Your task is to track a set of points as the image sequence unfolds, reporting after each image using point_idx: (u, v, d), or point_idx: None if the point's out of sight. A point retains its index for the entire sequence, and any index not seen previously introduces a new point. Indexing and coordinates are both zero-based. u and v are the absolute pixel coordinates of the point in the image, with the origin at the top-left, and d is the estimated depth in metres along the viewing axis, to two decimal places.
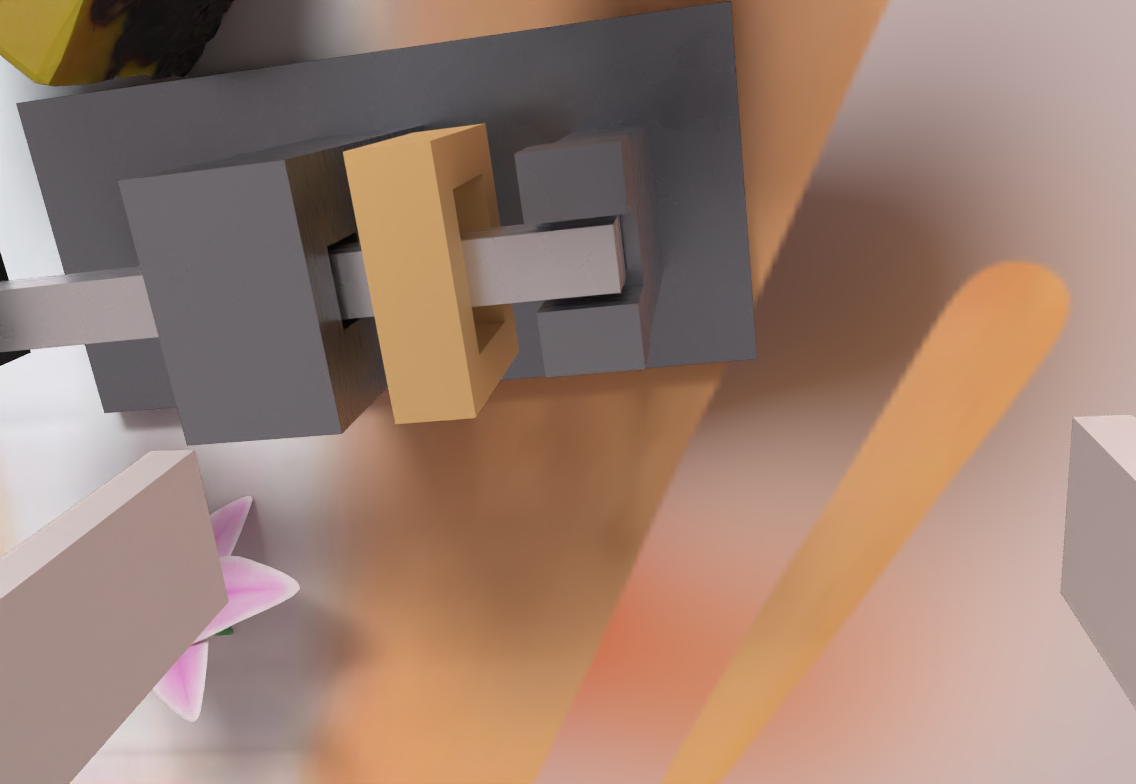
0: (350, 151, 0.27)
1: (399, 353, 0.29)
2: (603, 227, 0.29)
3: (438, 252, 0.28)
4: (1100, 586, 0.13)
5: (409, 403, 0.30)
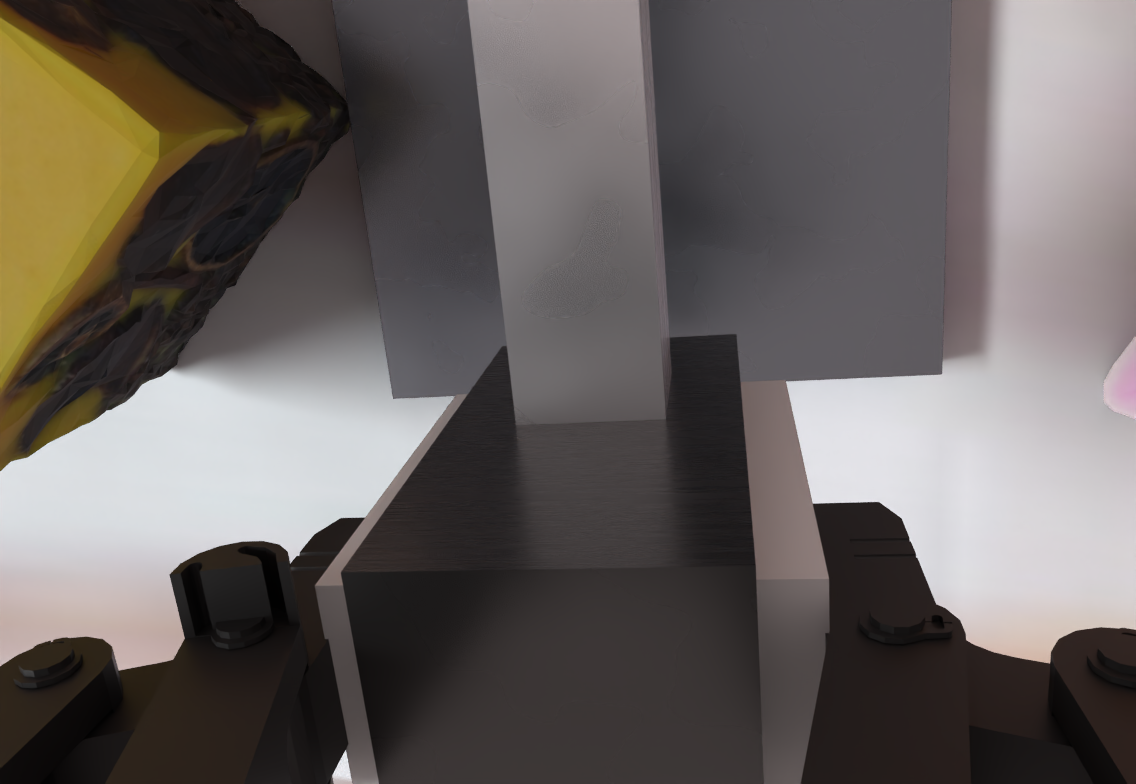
0: None
1: None
2: None
3: None
4: None
5: None
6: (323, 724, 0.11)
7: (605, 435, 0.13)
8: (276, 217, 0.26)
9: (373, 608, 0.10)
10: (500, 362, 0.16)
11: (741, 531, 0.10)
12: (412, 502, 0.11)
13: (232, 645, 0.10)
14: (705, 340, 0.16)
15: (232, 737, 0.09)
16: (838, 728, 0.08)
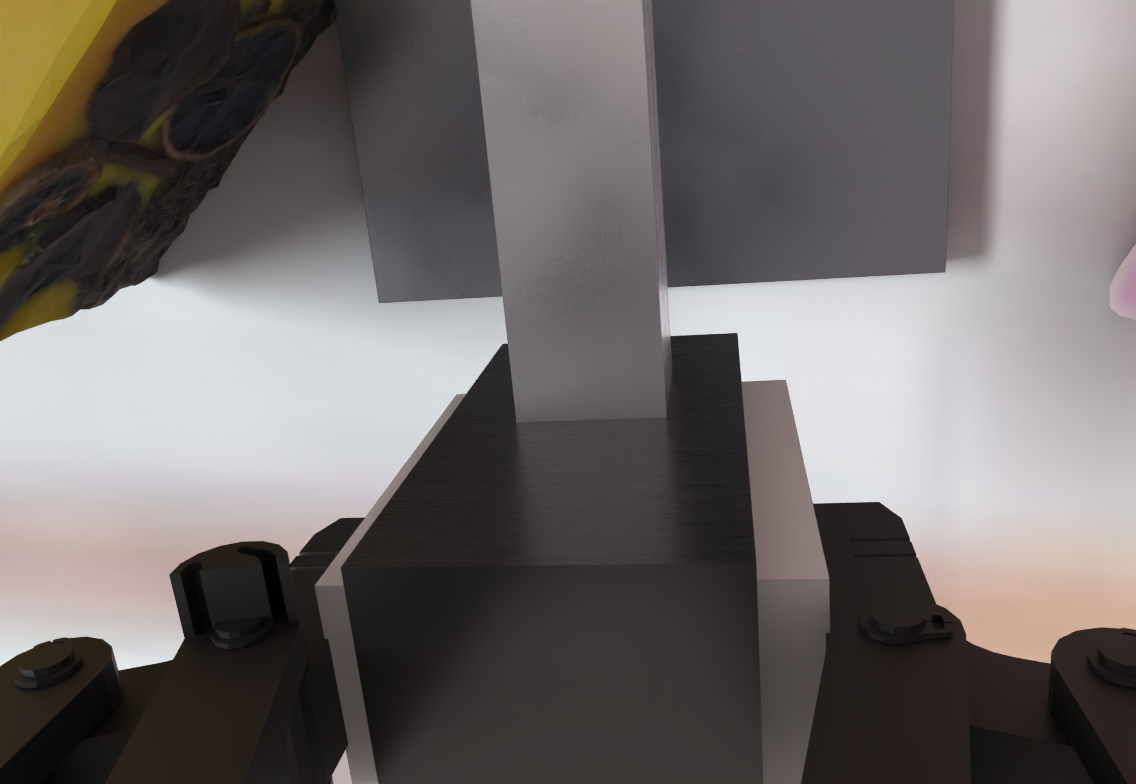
0: None
1: None
2: None
3: None
4: None
5: None
6: (323, 724, 0.11)
7: (605, 433, 0.13)
8: (259, 111, 0.25)
9: (373, 603, 0.10)
10: (501, 360, 0.16)
11: (742, 528, 0.10)
12: (412, 498, 0.11)
13: (231, 646, 0.10)
14: (706, 339, 0.16)
15: (232, 737, 0.09)
16: (838, 728, 0.08)
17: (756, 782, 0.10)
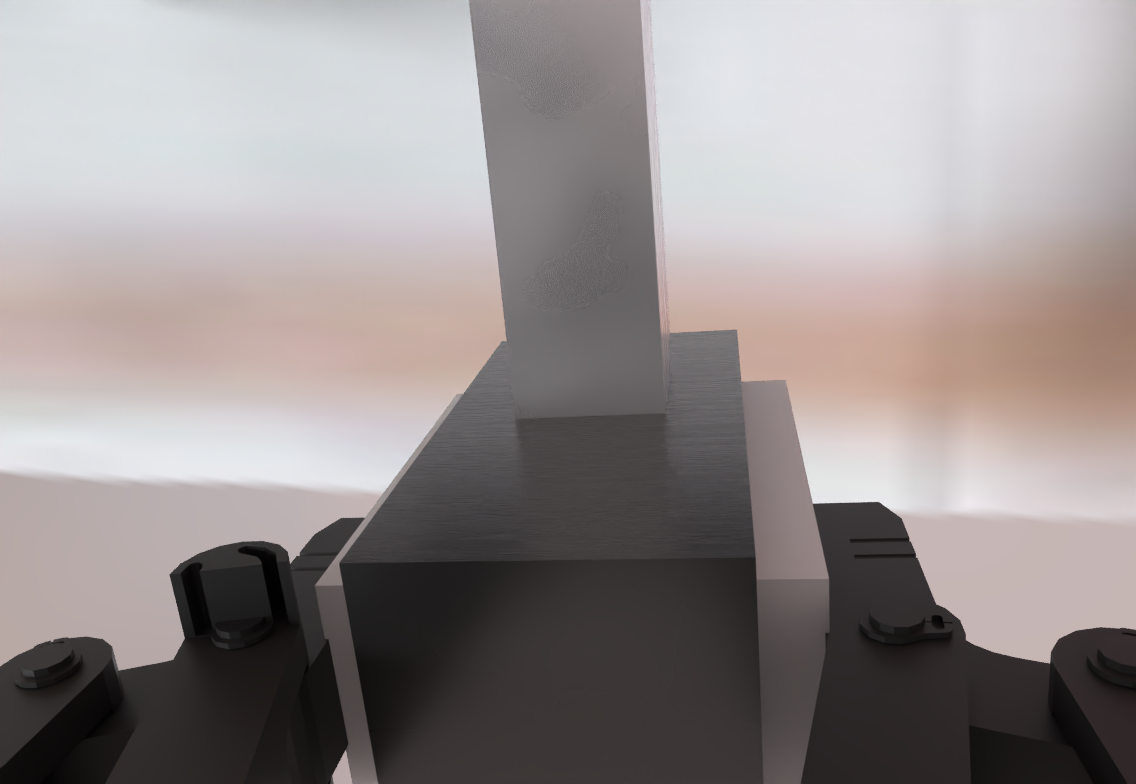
0: None
1: None
2: None
3: None
4: None
5: None
6: (323, 724, 0.11)
7: (605, 429, 0.13)
8: None
9: (370, 599, 0.10)
10: (500, 357, 0.16)
11: (742, 523, 0.10)
12: (411, 494, 0.11)
13: (231, 645, 0.10)
14: (705, 336, 0.16)
15: (232, 737, 0.09)
16: (838, 728, 0.08)
17: (757, 776, 0.10)
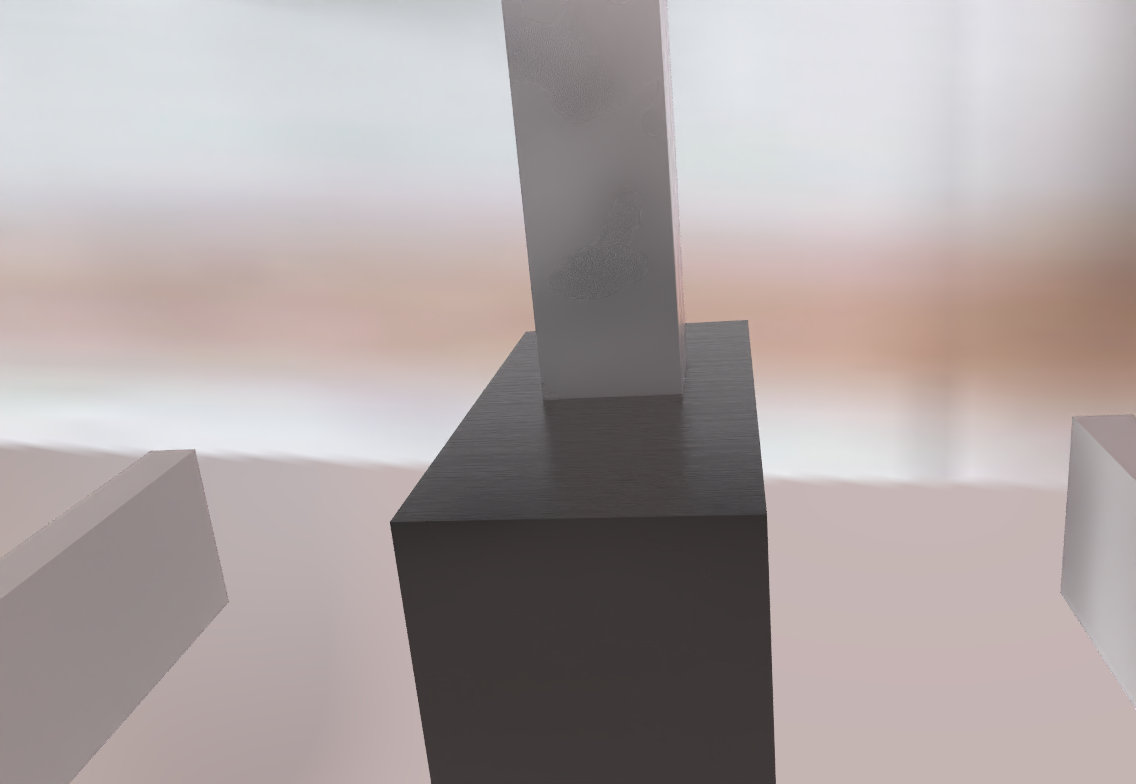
0: None
1: None
2: None
3: None
4: (1100, 585, 0.13)
5: None
6: None
7: (626, 408, 0.14)
8: None
9: (419, 555, 0.11)
10: (525, 345, 0.17)
11: (753, 486, 0.11)
12: (451, 464, 0.12)
13: None
14: (718, 326, 0.17)
15: None
16: None
17: (768, 717, 0.11)
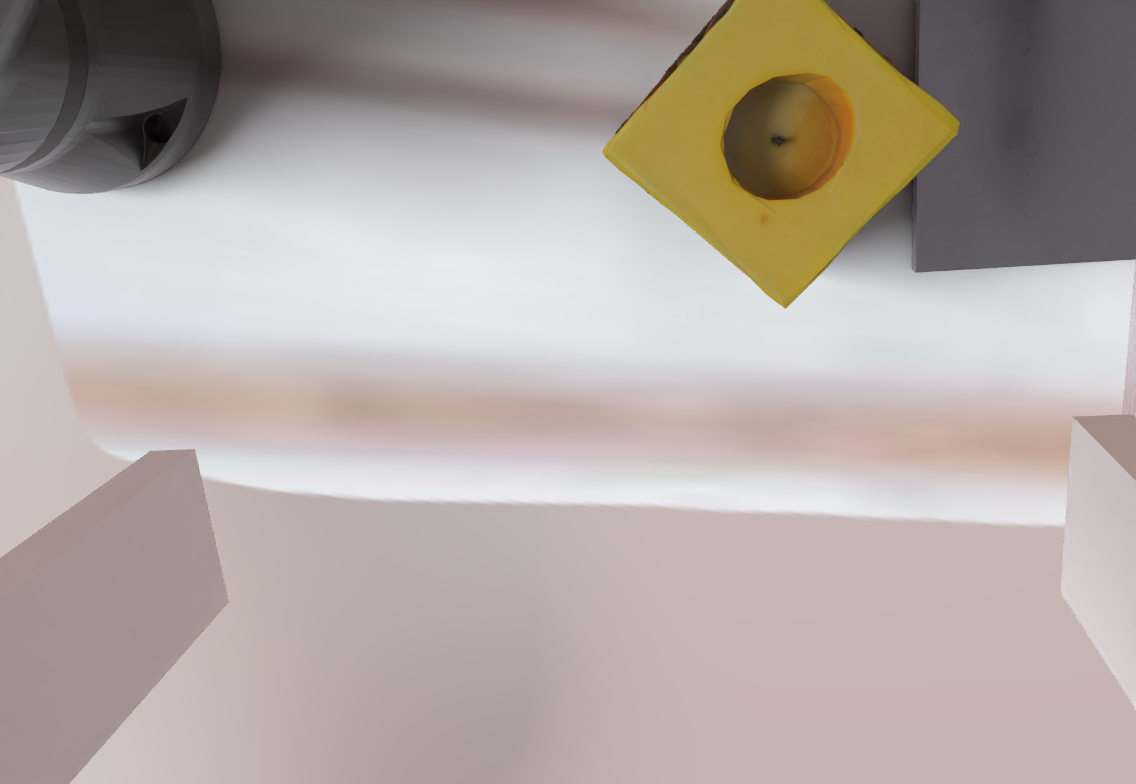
0: None
1: None
2: None
3: None
4: (1100, 585, 0.13)
5: None
6: None
7: None
8: None
9: None
10: None
11: None
12: None
13: None
14: None
15: None
16: None
17: None
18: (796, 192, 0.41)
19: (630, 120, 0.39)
